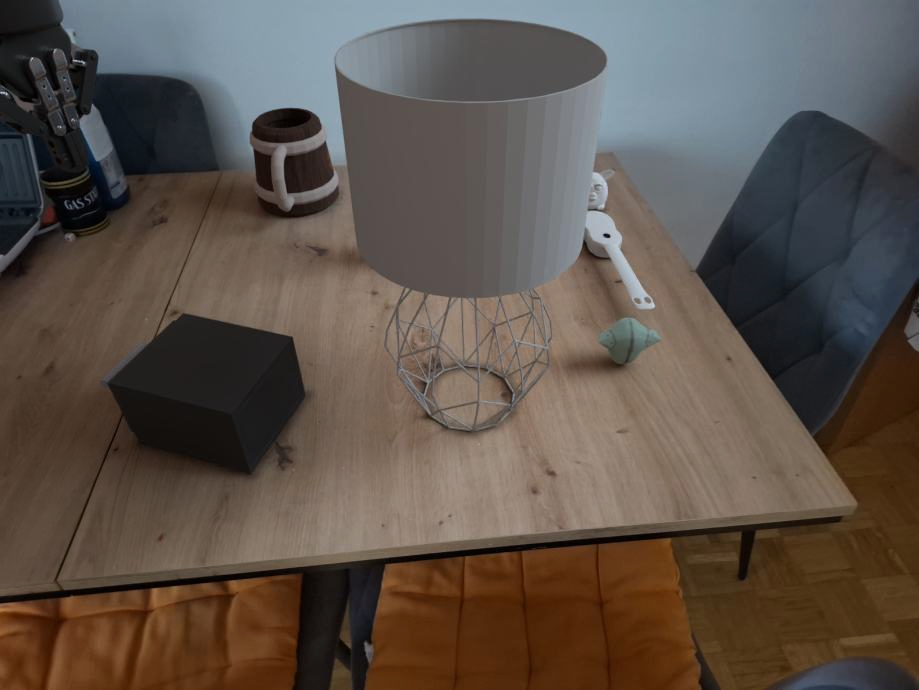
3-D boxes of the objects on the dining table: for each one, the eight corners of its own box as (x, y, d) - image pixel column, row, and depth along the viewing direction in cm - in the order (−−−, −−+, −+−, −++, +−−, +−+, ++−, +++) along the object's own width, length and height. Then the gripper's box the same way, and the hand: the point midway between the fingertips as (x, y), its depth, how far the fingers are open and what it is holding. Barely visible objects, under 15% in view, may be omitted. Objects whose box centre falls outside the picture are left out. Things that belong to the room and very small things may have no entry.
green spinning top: (594, 373, 82) (602, 332, 77) (588, 352, 85) (595, 312, 80) (656, 371, 82) (667, 330, 78) (647, 350, 85) (657, 310, 81)
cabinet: (139, 443, 73) (109, 383, 66) (204, 371, 82) (183, 312, 76) (251, 474, 69) (230, 414, 63) (306, 396, 78) (293, 336, 72)
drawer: (100, 423, 74) (73, 374, 69) (162, 360, 82) (143, 313, 77) (233, 460, 70) (216, 410, 65) (285, 390, 78) (273, 341, 73)
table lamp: (338, 404, 77) (276, 58, 51) (456, 317, 90) (455, 6, 64) (482, 503, 66) (496, 128, 40) (593, 388, 80) (658, 48, 53)
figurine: (569, 213, 113) (573, 179, 109) (561, 196, 118) (565, 162, 114) (613, 211, 114) (619, 176, 110) (603, 194, 119) (608, 160, 114)
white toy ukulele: (662, 322, 90) (667, 306, 88) (623, 325, 89) (626, 309, 87) (604, 222, 111) (607, 207, 109) (572, 224, 110) (574, 209, 108)
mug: (267, 180, 123) (250, 102, 113) (345, 179, 123) (335, 101, 113) (242, 234, 108) (220, 149, 98) (331, 233, 108) (318, 148, 98)
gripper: (18, -56, 55) (93, 137, 67) (-129, -26, 46) (-13, 194, 57) (89, -51, 54) (153, 146, 65) (-49, -19, 44) (54, 207, 55)
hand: (75, 169), depth 61 cm, fingers closed
